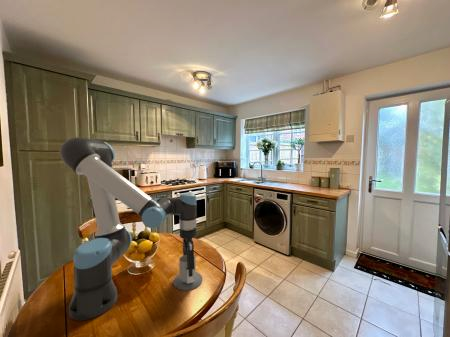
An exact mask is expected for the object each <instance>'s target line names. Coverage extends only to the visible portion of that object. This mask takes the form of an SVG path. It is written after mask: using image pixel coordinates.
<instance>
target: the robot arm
mask: <svg viewBox="0 0 450 337" xmlns="http://www.w3.org/2000/svg"><path fill="white" fill-rule="evenodd" d="M59 156H60V159H61V160H62V162H63V163H64V165H66V166H67V168H69V169H70V170H72V171H73V172H74V173H76V174H77V175H81V176H82V175H84V176H85V177H86V179H87V184H88V187H89V188H88V189H89V194H90V197H91V202H92V207H93V212H94V216H95V222H96V226H97V230H96V231H95V233H94V237H95V238H93V239H91V240H87V241H85V242H83V243H82V244H80V245H79V246H78V247H77V248H75V251H74V253H73V260H72V263H73V277H74V278H73V280H74V281H73V282H74V291H73V294H72V296H71V300H70V303H69V306H68V317H69V318H70V319H72V320H73V321H88V320H91V319H94V318H96V317H98V316H101V315H102V314H104V313H106V312H107V311H109V310H110V309H111V308H112V307H113V306H114V305H115V304H116V302H117V300H118V291H117V287H116V286H115V284H114V281H113V278H112V277H113V276H112V273H113V270H112V267H113V265H115V263H116V262H117V261H119V260H120V258H121V257H122V256H124V255H125V254H126V253H127V252H128V250H129V249H130V247H131V246H130V244H131V245H132V243H133V242H132V241H133V237H132V234H131V233H130V231H129V230H127V229H126V227H125V224H124V223H123V224H122V223H121V221H120V217H119V216H120V215H119V211H118V206H117V201H116V199H117V200H118V201H119V202H121V203H122V204H124V205H125V206H127V207H128V208H129V209H131V210H132V211H133V212H135V213H136V215H138V216H140V217H141V222H142V224H143V225H144V226H145V227H146V228H149V229H155V228H157V227H158V228H159V227H160V225H162V224H164V222H165V221H166V219H168V218H169V216H179V218H178V219H179V226H178V227H179V237H180V238H181V239H183V240H182V256H183V255H187V268H186V270H187V284H188V283H192V282H193V269H195V267H194V256H195V252H194V250H195V245H194V240H193V239H194V238H196V236H197V222H198V219H197V208H198V207H197V195H196V194H195V193H193V192H186V193H185V192H184V193H183V192H182V193H180V194H179V197H174V198H173V197H158V198H152V197H151V196H150V195H149V194H147V193H146V192H144V190H142V189H141V188H139V187H138V186H137V185H135V184H134V183H132V182H131V181H129V179H127V178H125V177H124V176H123V175H121V174H120V173H119V172H117V171H116V170H115V169H113V161H114V160H115V157H116V156H115V150H114V148H113V147H112V146H111V144H110V143H108V142H106V141H104V140H100V139H93V138H86V137H83V136H82V137H80V136H75V137H70V138H68V139H66V140H65V141H64V142H63V143H62V144H61V146H60V148H59ZM129 246H130V247H129Z"/></svg>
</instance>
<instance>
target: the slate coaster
mask: <svg viewBox="0 0 450 337" xmlns="http://www.w3.org/2000/svg"><path fill="white" fill-rule="evenodd" d="M202 282H203V276H202V274H201V273H199V272H196V277H195V279H194V280H193V282H192V283H188V284H187V282H182V281H181V280H180V278H179V274H177V275H176V276H175V277H174V278H173V286H174V288H175V289H177V290H179V291H192V290H195V289H197V288H198V287H199V286H201V284H202Z"/></svg>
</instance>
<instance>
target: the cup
mask: <svg viewBox="0 0 450 337" xmlns="http://www.w3.org/2000/svg"><path fill="white" fill-rule="evenodd" d="M196 259H197V258H196V256H195V255H194V267H195V269H193V280H194V279H195V277H196V271H197V270H196V265H197V264H196V262H197V261H196ZM178 262H179V266H178V267H179V271H178V273H179V274H178V275H179V278H180V280H181V281H182V282H187V270H186V268H187V255H183V254H182V255H181V256H180V257H179V260H178Z"/></svg>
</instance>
